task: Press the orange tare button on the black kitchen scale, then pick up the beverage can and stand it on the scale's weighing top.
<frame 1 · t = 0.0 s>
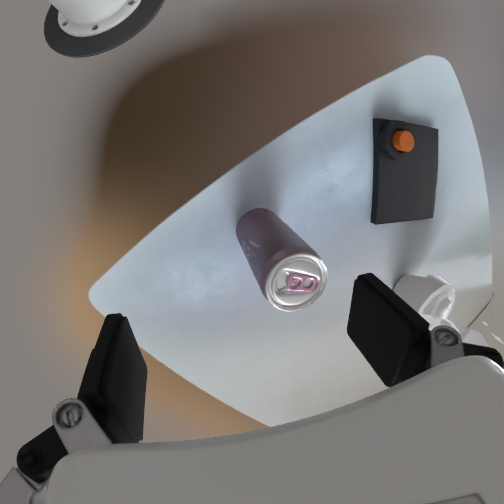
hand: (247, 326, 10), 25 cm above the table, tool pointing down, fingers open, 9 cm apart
scale: (405, 171, 37), on the table
tare button: (403, 141, 32), point 4 cm above the table, slide at 0.1 cm
potted plant: (401, 286, 47), on the table
beverage can: (257, 228, 36), on the table
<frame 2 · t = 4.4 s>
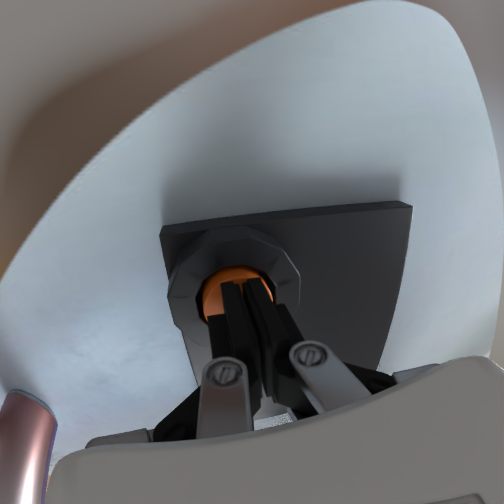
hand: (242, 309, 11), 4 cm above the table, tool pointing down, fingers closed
scale: (296, 329, 17), on the table
tare button: (235, 297, 12), point 3 cm above the table, slide at -0.8 cm, touching gripper
beverage can: (33, 405, 16), on the table
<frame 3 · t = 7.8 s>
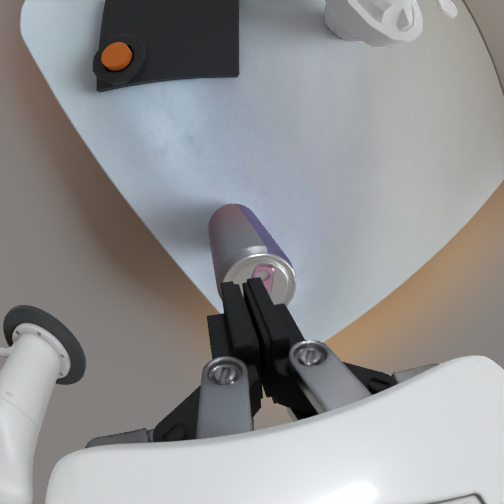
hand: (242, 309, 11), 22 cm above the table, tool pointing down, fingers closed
scale: (168, 29, 22), on the table
tare button: (116, 56, 19), point 3 cm above the table, slide at 0.1 cm
potted plant: (341, 24, 25), on the table
beverage can: (232, 225, 33), on the table
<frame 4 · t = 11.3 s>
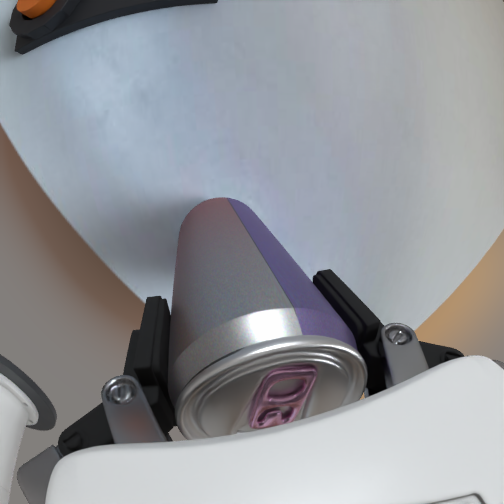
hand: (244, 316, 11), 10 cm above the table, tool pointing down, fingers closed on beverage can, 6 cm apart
beverage can: (219, 234, 20), on the table, touching gripper
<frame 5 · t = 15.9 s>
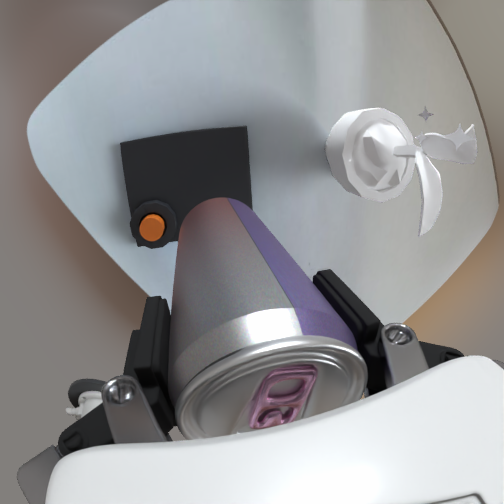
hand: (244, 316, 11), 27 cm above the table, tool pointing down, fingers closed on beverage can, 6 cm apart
scale: (188, 184, 34), on the table
tare button: (152, 227, 32), point 3 cm above the table, slide at 0.1 cm
potted plant: (340, 152, 37), on the table
beverage can: (219, 234, 20), point 17 cm above the table, touching gripper
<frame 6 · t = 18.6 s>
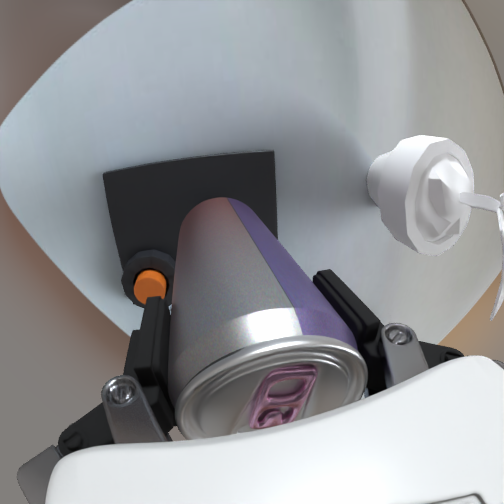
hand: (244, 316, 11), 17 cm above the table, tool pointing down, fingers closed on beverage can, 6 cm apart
scale: (195, 228, 27), on the table
tare button: (150, 287, 24), point 3 cm above the table, slide at 0.1 cm
potted plant: (383, 183, 29), on the table
beverage can: (219, 234, 20), point 7 cm above the table, touching gripper
when the fingers open (11 cm above the table, at t = 20.7 s): beverage can stays where it is, resting on scale.
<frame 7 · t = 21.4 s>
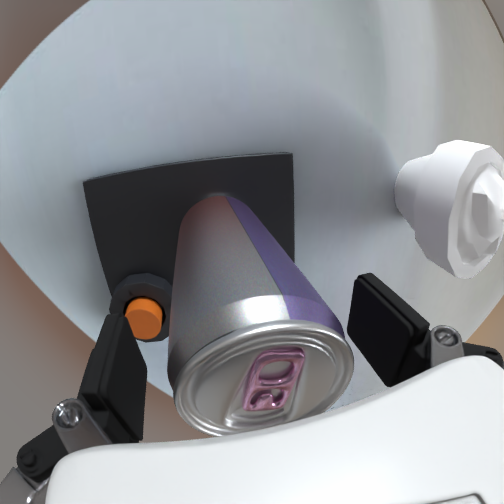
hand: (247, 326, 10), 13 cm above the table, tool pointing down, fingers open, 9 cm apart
scale: (195, 246, 22), on the table
tare button: (143, 318, 20), point 3 cm above the table, slide at 0.1 cm
potted plant: (410, 192, 25), on the table
beverage can: (218, 231, 21), point 1 cm above the table, touching scale
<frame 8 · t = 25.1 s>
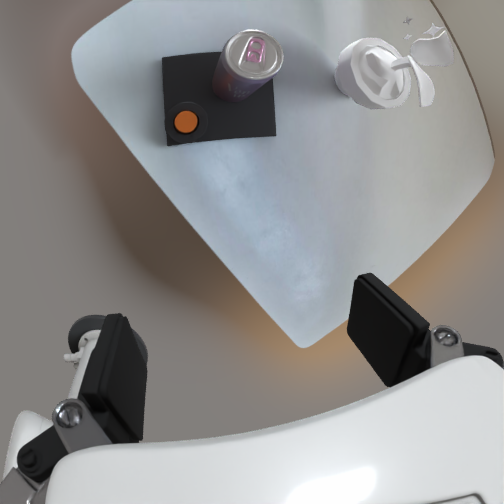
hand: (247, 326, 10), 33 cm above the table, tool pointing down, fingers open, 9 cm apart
scale: (218, 95, 35), on the table
tare button: (186, 122, 33), point 3 cm above the table, slide at 0.1 cm
potted plant: (347, 82, 38), on the table
beverage can: (232, 84, 34), point 1 cm above the table, touching scale
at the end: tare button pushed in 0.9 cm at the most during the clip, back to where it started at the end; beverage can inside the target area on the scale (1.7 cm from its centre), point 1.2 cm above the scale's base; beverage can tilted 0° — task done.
